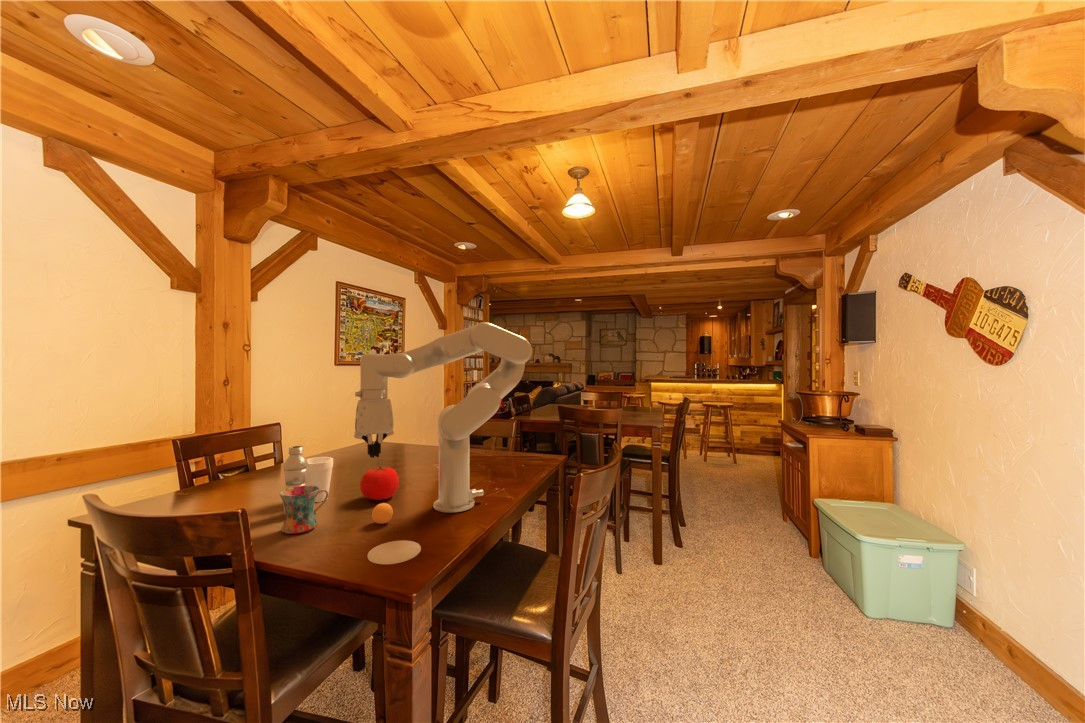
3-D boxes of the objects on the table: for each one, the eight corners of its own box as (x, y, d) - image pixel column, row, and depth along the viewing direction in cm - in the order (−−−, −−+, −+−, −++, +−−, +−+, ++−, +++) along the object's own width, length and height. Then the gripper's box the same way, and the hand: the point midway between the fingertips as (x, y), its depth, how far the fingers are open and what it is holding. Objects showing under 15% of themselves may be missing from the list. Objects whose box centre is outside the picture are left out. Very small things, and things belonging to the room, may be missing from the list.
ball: (389, 518, 120) (389, 499, 120) (395, 524, 116) (395, 504, 116) (369, 522, 117) (369, 502, 117) (374, 528, 113) (374, 508, 113)
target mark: (411, 537, 107) (411, 536, 107) (428, 554, 97) (428, 553, 97) (361, 549, 100) (361, 548, 100) (374, 569, 90) (374, 568, 90)
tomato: (404, 493, 142) (404, 463, 142) (386, 506, 130) (386, 472, 130) (374, 492, 144) (374, 461, 144) (353, 504, 132) (353, 471, 132)
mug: (287, 540, 106) (287, 498, 106) (274, 530, 111) (274, 491, 111) (335, 525, 115) (335, 487, 115) (320, 517, 121) (320, 481, 121)
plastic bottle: (285, 520, 118) (285, 450, 118) (281, 513, 124) (281, 446, 124) (310, 515, 123) (310, 447, 123) (306, 508, 128) (306, 444, 128)
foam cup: (337, 499, 136) (337, 460, 136) (307, 506, 129) (307, 465, 129) (326, 493, 143) (326, 455, 143) (296, 500, 136) (296, 460, 136)
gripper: (349, 397, 116) (349, 462, 116) (403, 394, 125) (403, 455, 125) (343, 395, 122) (344, 457, 122) (396, 393, 131) (396, 451, 131)
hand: (374, 456), depth 124 cm, fingers closed
